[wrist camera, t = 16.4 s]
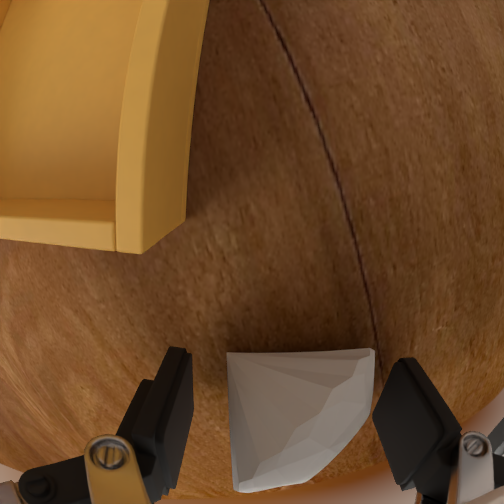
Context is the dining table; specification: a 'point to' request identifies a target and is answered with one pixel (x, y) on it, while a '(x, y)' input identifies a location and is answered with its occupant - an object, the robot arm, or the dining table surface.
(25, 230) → the ochre bin
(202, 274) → the dining table surface
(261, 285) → the dining table surface
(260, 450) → the gemstone
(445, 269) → the dining table surface
